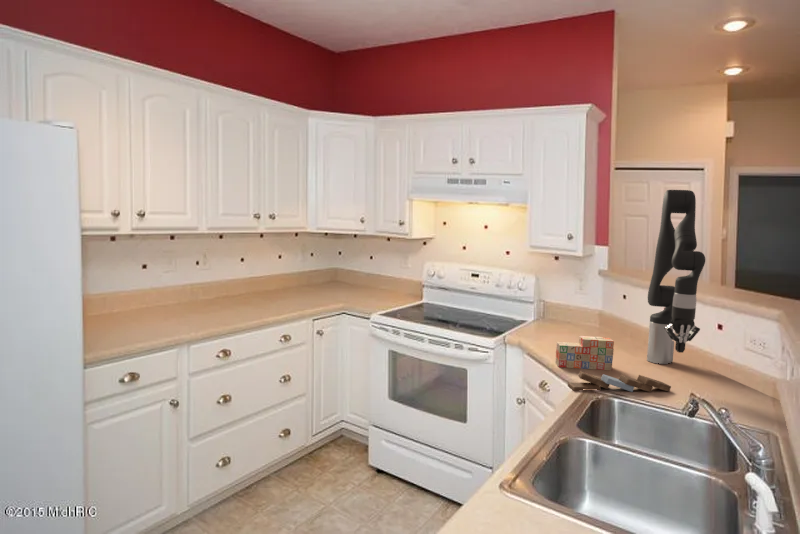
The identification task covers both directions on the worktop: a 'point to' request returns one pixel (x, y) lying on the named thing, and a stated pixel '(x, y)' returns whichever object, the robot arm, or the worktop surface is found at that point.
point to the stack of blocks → (586, 353)
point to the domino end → (583, 386)
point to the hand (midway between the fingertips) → (679, 351)
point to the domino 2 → (616, 383)
